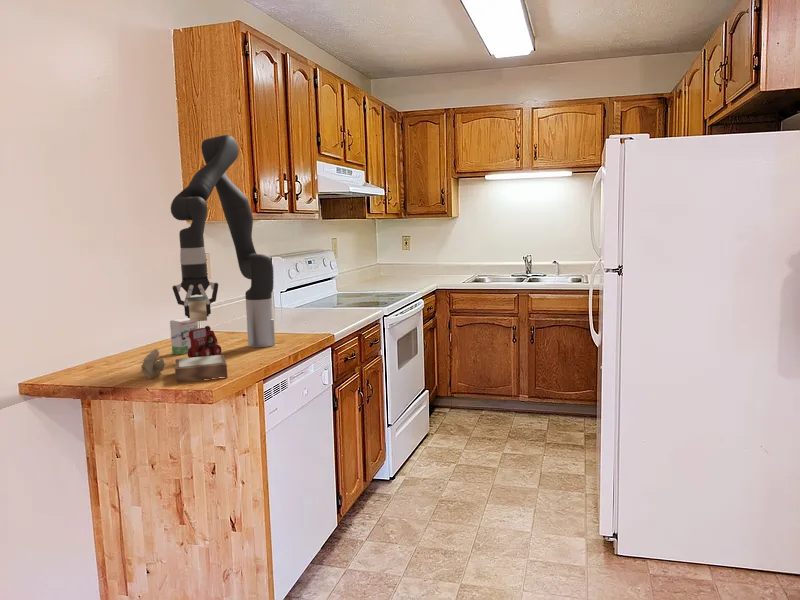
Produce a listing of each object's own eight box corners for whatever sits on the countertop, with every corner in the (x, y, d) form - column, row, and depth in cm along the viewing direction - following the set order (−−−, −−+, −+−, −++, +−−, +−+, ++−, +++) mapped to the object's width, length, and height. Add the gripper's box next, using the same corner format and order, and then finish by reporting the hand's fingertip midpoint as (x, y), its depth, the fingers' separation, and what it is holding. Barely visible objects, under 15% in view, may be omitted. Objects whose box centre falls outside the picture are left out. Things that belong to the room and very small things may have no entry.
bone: (148, 366, 189) (159, 340, 186) (165, 378, 188) (176, 351, 185) (129, 375, 181) (140, 347, 178) (146, 387, 180) (157, 359, 177)
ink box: (181, 355, 213) (179, 321, 212) (171, 353, 216) (169, 320, 214) (200, 350, 221) (198, 317, 219) (190, 349, 223) (188, 316, 222)
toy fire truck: (225, 354, 212) (223, 324, 211) (201, 362, 201) (199, 330, 200) (209, 353, 215) (207, 323, 214) (184, 361, 204) (182, 329, 202)
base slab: (224, 367, 192) (223, 354, 191) (227, 377, 179) (226, 363, 178) (176, 372, 187) (175, 358, 187) (175, 383, 174) (174, 368, 173)
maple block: (206, 318, 196) (204, 296, 196) (207, 320, 192) (205, 297, 191) (189, 319, 195) (187, 297, 194) (190, 322, 190) (188, 299, 189)
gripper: (217, 260, 197) (221, 313, 199) (169, 263, 192) (173, 317, 194) (218, 261, 190) (222, 316, 192) (168, 264, 185) (173, 320, 187)
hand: (198, 316), depth 193 cm, fingers closed on maple block, 5 cm apart
